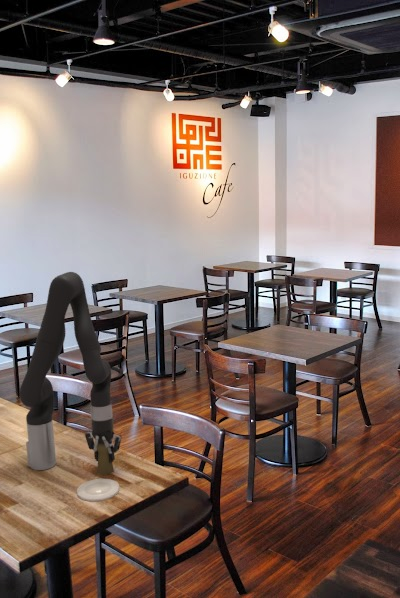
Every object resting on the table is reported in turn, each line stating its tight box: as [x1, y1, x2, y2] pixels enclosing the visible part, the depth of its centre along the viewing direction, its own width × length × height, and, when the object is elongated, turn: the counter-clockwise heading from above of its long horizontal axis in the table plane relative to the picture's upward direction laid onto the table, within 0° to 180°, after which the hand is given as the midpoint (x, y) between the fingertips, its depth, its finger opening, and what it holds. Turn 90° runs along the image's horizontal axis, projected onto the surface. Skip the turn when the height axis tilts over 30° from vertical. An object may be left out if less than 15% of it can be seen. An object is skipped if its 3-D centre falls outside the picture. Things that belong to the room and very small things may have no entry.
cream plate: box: [76, 478, 120, 502], centre depth 206 cm, size 14×14×1 cm
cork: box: [96, 443, 115, 476], centre depth 220 cm, size 6×6×11 cm
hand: (104, 461), depth 220 cm, fingers open, 4 cm apart
